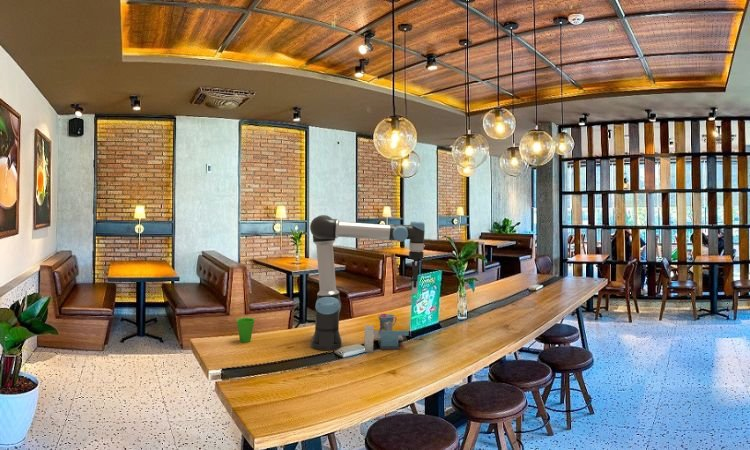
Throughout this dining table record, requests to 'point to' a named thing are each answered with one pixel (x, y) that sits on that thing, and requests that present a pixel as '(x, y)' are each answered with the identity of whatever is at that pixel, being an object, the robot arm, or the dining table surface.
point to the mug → (386, 319)
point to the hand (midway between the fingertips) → (414, 291)
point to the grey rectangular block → (369, 338)
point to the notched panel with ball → (389, 337)
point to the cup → (245, 329)
